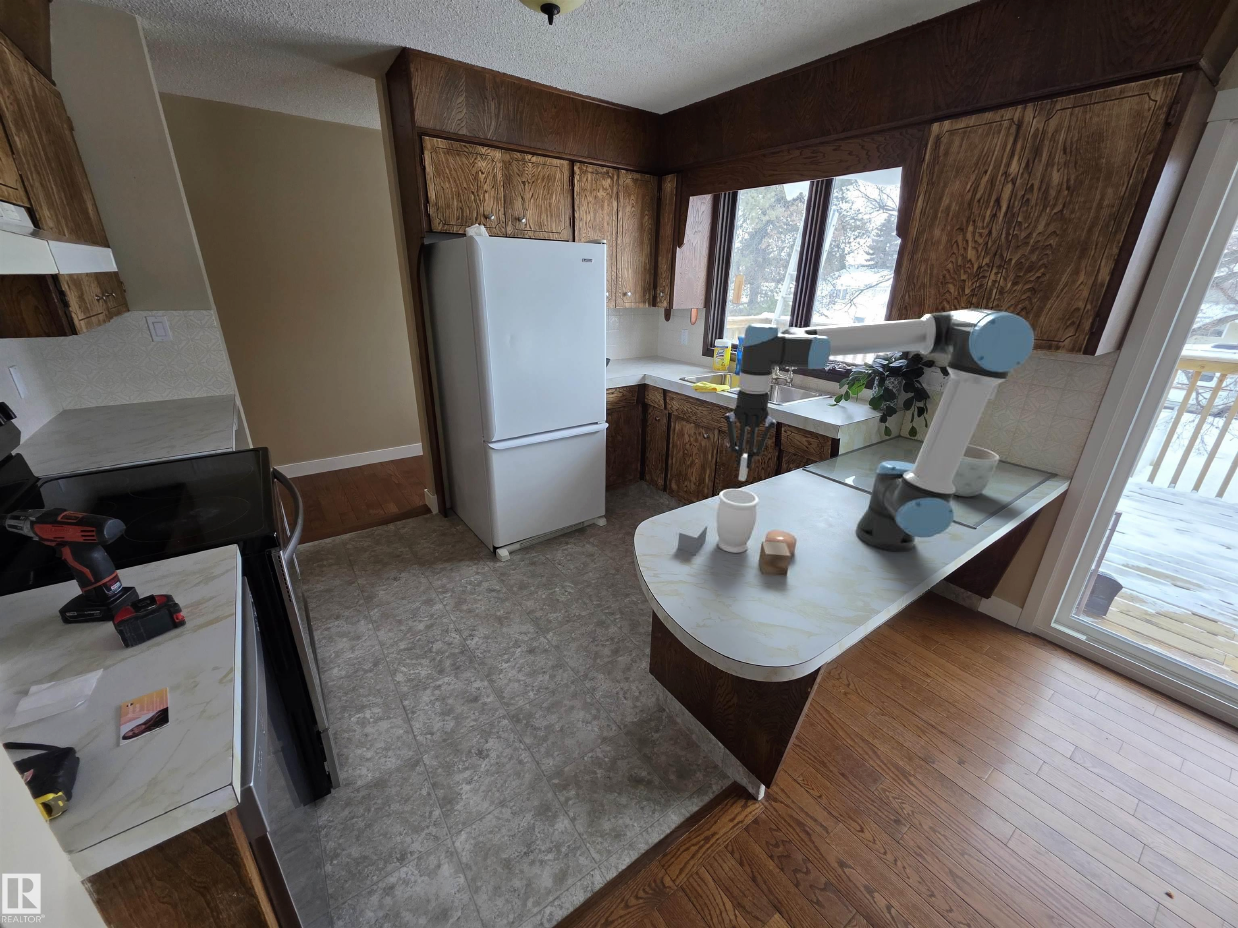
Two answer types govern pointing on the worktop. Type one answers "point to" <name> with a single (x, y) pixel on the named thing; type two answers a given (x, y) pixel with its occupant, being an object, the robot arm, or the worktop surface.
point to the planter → (974, 471)
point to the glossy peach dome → (782, 539)
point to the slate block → (692, 537)
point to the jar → (735, 519)
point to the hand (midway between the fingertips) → (742, 478)
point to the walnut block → (774, 558)
